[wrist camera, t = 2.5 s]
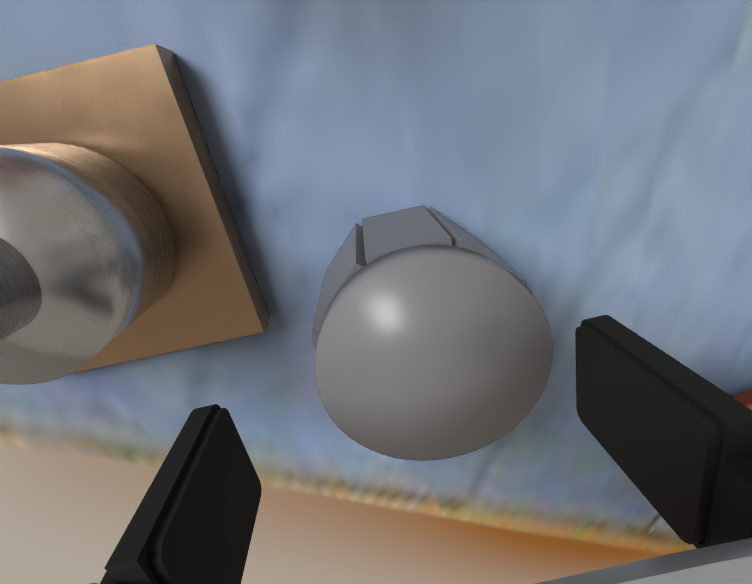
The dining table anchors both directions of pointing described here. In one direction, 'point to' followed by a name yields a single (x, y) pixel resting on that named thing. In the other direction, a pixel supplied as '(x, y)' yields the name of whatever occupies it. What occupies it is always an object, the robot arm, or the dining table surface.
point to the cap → (426, 339)
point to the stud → (112, 222)
